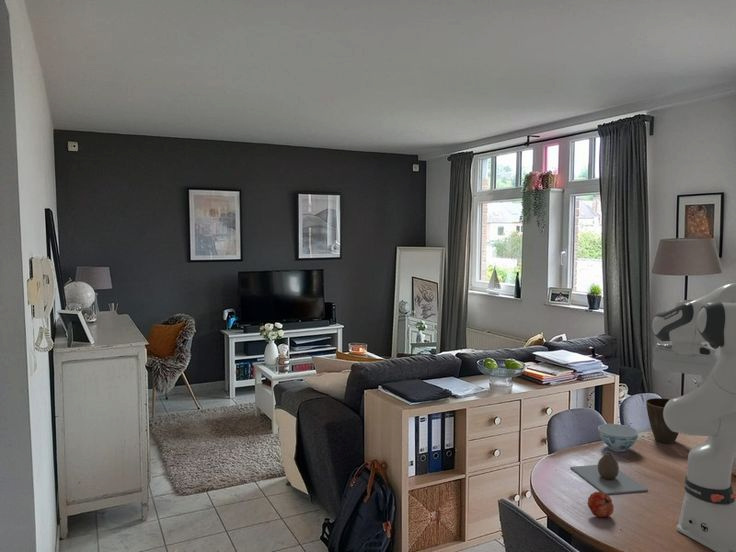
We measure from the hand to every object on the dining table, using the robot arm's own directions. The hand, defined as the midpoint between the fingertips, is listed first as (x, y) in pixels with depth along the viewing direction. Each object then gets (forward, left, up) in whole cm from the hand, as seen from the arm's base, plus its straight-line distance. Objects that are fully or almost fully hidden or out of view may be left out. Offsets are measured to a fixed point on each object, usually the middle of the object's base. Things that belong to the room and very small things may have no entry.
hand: (684, 385), depth 202 cm
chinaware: (+32, +3, -34) cm, 47 cm away
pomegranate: (-17, +41, -34) cm, 57 cm away
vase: (+6, +24, -34) cm, 42 cm away
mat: (+6, +24, -34) cm, 42 cm away
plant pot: (+37, -22, -34) cm, 55 cm away
